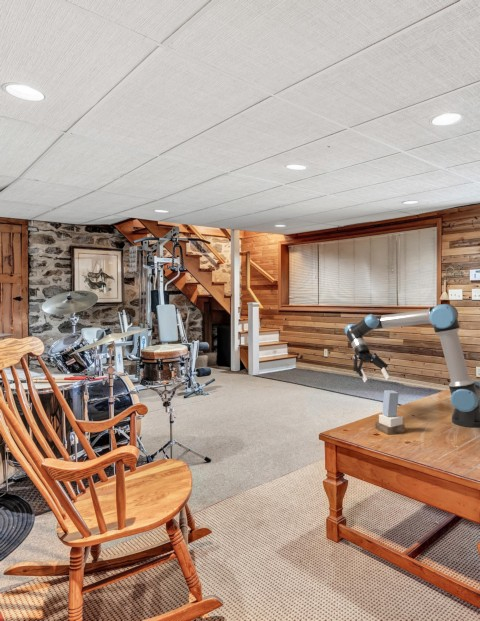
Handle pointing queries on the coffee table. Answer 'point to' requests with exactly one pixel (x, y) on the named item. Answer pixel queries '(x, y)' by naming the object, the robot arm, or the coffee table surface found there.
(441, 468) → the coffee table surface
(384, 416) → the cream tower block
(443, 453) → the coffee table surface
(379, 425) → the walnut tower slab
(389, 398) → the slate-blue pillar
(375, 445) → the coffee table surface
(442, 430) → the coffee table surface
